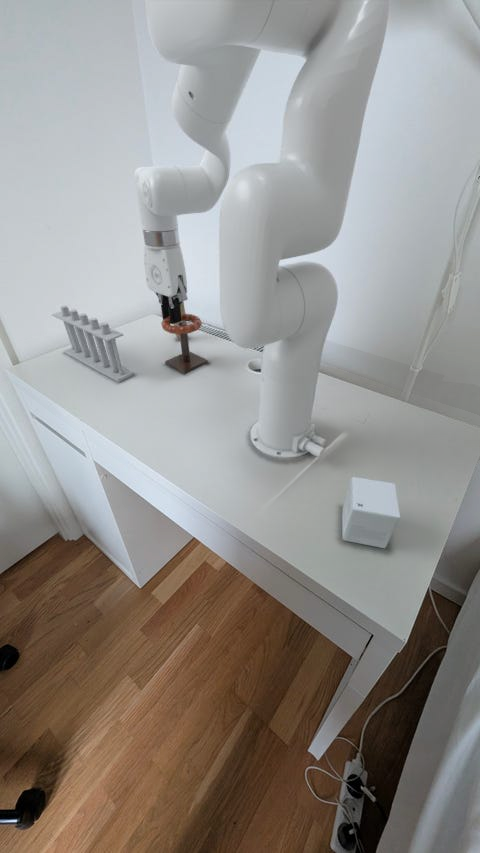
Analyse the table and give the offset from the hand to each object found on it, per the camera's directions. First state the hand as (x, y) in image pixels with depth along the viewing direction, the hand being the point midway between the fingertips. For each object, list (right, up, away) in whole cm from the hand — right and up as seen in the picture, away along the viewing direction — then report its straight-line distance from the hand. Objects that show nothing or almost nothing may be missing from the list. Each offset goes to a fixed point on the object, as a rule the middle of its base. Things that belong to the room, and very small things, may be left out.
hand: (172, 320), depth 85 cm
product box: (+35, -42, -34) cm, 65 cm away
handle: (0, -1, +17) cm, 17 cm away
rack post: (+3, -10, +5) cm, 11 cm away
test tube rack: (-21, -10, +5) cm, 24 cm away
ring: (+3, -1, -2) cm, 4 cm away
